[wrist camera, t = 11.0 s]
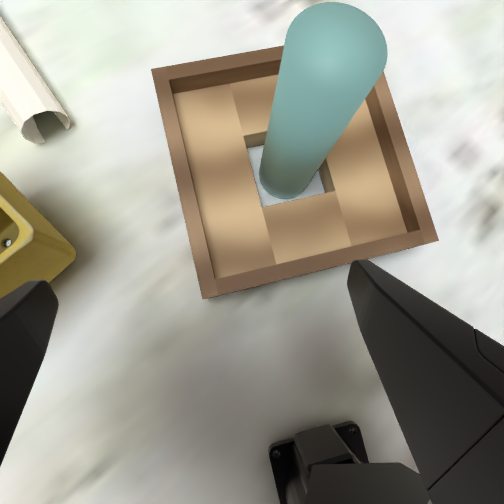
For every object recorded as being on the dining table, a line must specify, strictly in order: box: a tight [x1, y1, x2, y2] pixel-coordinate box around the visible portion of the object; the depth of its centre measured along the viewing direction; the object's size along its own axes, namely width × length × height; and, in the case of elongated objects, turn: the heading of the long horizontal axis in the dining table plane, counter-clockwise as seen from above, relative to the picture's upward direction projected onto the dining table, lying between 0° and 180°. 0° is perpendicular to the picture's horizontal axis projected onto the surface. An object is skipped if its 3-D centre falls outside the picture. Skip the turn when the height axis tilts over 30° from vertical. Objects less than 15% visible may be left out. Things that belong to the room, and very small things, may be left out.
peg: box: [259, 2, 387, 199], centre depth 18 cm, size 4×4×12 cm
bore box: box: [151, 46, 439, 299], centre depth 22 cm, size 16×16×4 cm
